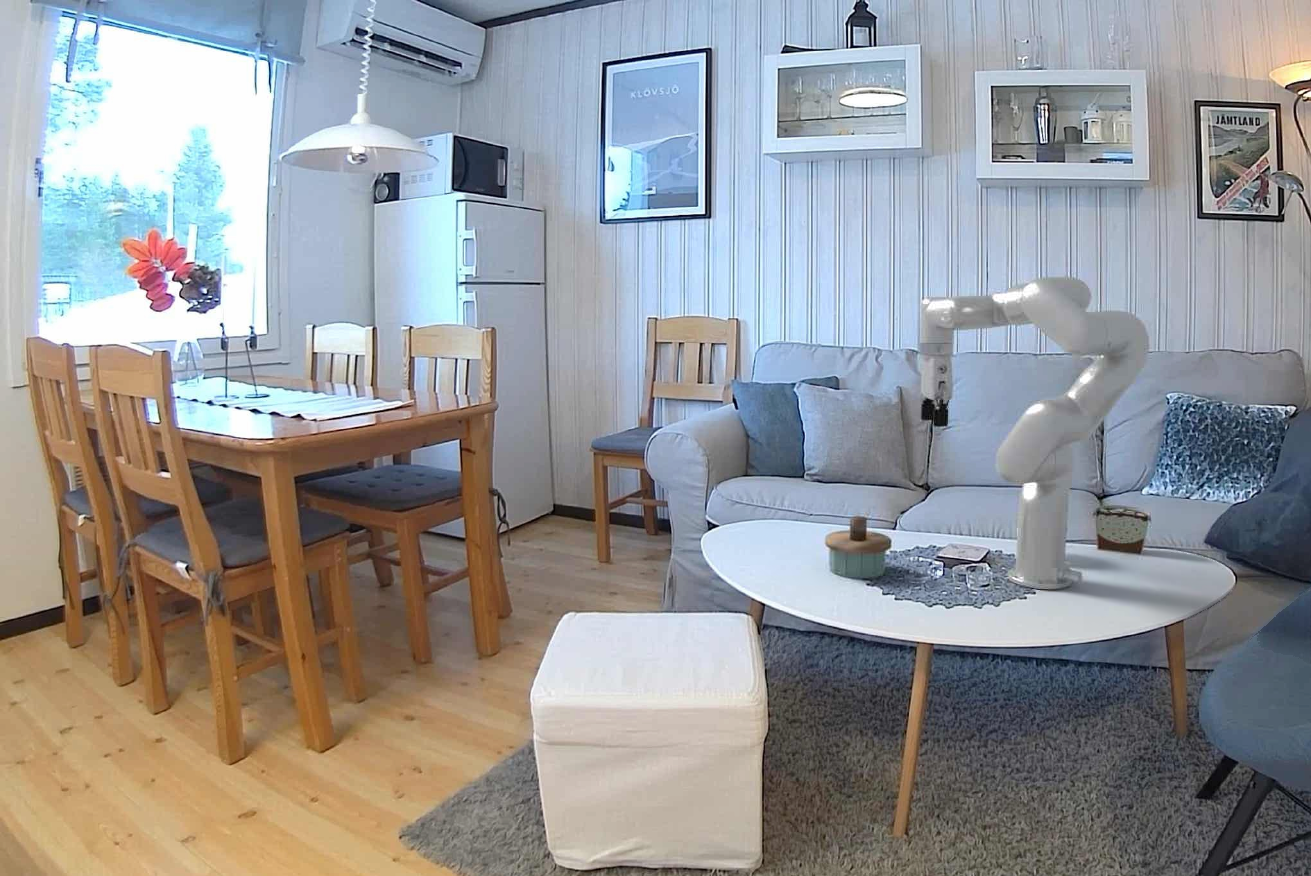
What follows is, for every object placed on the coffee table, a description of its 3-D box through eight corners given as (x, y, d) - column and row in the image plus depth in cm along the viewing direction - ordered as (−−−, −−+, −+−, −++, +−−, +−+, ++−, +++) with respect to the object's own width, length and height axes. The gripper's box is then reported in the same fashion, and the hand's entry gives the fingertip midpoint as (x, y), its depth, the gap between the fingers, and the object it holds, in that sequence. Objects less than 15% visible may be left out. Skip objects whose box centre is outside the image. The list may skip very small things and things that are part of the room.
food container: (1151, 549, 215) (1154, 508, 214) (1149, 556, 210) (1152, 514, 209) (1094, 542, 222) (1096, 502, 220) (1090, 549, 217) (1092, 508, 215)
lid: (904, 548, 203) (905, 518, 202) (864, 562, 194) (865, 530, 193) (851, 535, 214) (852, 506, 213) (811, 548, 205) (812, 518, 204)
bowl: (895, 570, 204) (896, 544, 203) (862, 582, 197) (863, 555, 196) (852, 558, 213) (852, 533, 212) (818, 569, 206) (819, 544, 205)
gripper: (965, 353, 205) (962, 428, 208) (940, 347, 222) (938, 417, 225) (931, 353, 205) (929, 429, 208) (909, 348, 222) (908, 417, 225)
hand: (934, 423), depth 216 cm, fingers open, 9 cm apart
